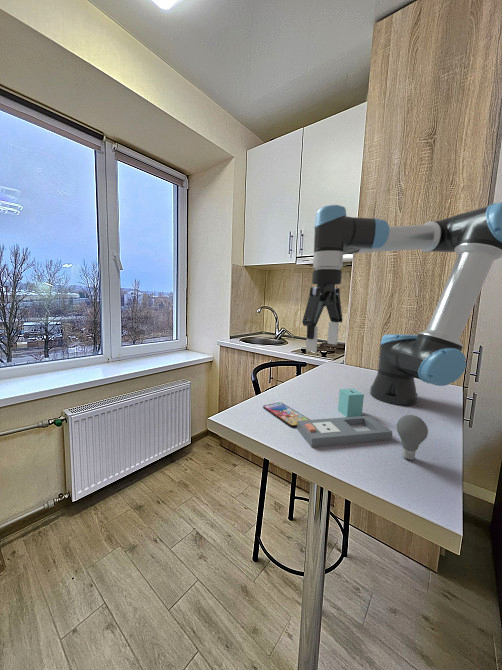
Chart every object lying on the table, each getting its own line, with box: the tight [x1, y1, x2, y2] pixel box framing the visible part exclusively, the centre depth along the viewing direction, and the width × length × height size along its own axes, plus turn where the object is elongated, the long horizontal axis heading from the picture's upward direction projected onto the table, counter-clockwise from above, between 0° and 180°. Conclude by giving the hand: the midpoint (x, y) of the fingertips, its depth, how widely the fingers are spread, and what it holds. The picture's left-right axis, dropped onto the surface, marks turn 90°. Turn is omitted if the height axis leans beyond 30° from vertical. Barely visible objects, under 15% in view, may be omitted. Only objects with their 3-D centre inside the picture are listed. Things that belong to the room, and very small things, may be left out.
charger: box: [337, 388, 365, 417], centre depth 83 cm, size 5×5×7 cm
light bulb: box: [396, 414, 429, 460], centre depth 60 cm, size 6×6×10 cm
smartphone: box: [262, 402, 311, 429], centre depth 81 cm, size 7×1×15 cm
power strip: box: [296, 415, 393, 448], centre depth 70 cm, size 22×9×3 cm, turn 103°
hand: (322, 347), depth 76 cm, fingers open, 13 cm apart
